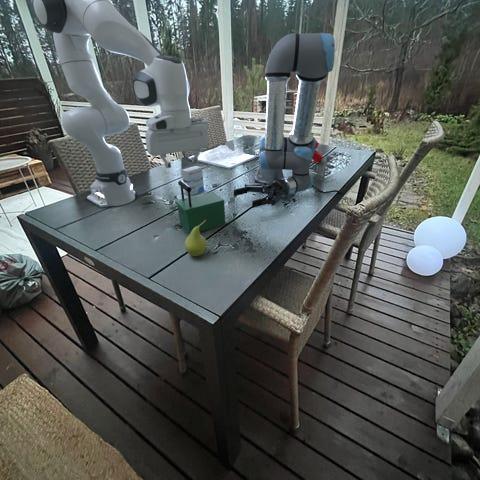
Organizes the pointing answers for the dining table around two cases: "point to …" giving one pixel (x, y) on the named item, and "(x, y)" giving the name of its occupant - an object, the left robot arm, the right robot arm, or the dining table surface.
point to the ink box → (193, 179)
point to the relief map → (224, 157)
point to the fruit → (196, 242)
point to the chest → (203, 218)
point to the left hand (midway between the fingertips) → (182, 164)
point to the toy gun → (317, 155)
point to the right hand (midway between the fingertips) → (242, 198)
